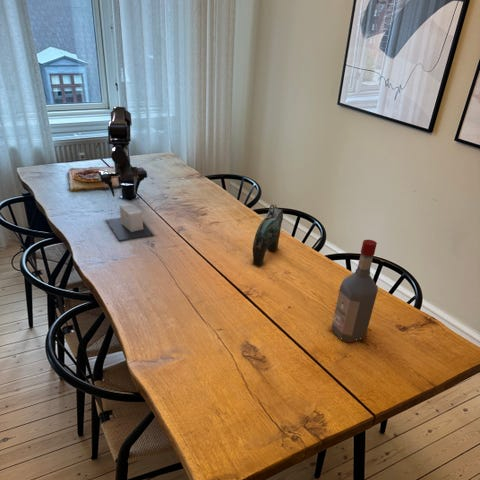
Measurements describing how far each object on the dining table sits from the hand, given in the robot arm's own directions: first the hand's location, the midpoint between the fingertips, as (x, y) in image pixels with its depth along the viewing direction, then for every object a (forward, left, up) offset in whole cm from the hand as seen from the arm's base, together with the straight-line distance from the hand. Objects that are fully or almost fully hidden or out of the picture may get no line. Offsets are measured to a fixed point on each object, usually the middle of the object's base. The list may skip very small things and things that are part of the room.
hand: (124, 195), depth 187 cm
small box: (0, -1, -8) cm, 8 cm away
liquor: (+23, +107, -13) cm, 111 cm away
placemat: (+3, +4, -13) cm, 13 cm away
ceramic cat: (-8, +63, -13) cm, 65 cm away
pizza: (-33, -53, -13) cm, 64 cm away
